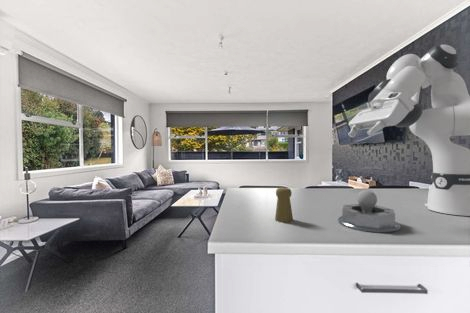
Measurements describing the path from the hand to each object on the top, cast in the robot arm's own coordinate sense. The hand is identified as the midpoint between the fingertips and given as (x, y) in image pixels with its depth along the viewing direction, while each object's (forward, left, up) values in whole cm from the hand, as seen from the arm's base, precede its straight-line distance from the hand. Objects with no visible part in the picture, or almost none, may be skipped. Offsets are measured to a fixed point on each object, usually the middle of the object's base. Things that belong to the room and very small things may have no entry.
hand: (359, 135), depth 77 cm
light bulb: (0, +3, -28) cm, 28 cm away
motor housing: (0, +3, -28) cm, 28 cm away
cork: (+23, -9, -28) cm, 38 cm away
